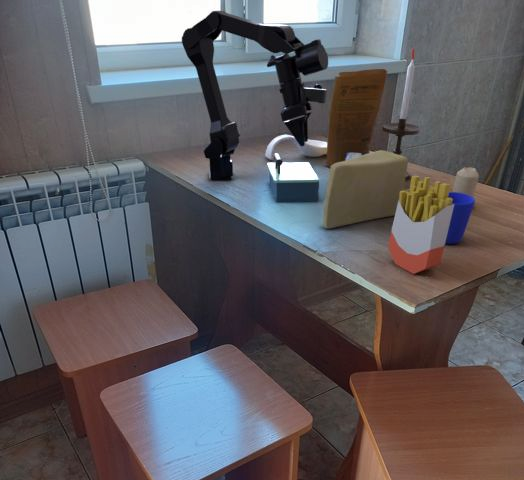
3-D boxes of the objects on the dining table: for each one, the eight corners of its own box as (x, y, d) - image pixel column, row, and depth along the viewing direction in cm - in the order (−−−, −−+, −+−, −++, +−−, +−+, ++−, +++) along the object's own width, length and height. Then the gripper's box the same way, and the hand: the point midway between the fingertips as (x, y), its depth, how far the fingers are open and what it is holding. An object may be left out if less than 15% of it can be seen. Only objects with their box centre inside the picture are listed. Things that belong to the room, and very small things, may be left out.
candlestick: (389, 183, 154) (411, 49, 134) (369, 173, 162) (386, 45, 142) (418, 179, 158) (443, 48, 137) (397, 169, 166) (418, 44, 145)
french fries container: (421, 279, 103) (441, 191, 93) (385, 259, 111) (399, 175, 100) (437, 274, 105) (458, 187, 95) (400, 254, 113) (416, 172, 102)
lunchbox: (276, 202, 139) (276, 183, 136) (269, 183, 152) (269, 165, 149) (317, 201, 140) (319, 182, 137) (307, 182, 153) (308, 164, 150)
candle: (460, 210, 136) (469, 172, 130) (445, 204, 140) (453, 166, 134) (475, 207, 138) (485, 169, 132) (460, 201, 142) (469, 164, 136)
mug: (407, 233, 123) (415, 192, 117) (456, 232, 124) (466, 191, 118) (418, 247, 116) (427, 204, 110) (470, 246, 117) (481, 203, 111)
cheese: (337, 235, 121) (344, 171, 112) (310, 222, 127) (315, 160, 119) (400, 216, 132) (411, 156, 123) (372, 205, 138) (380, 147, 130)
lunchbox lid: (274, 182, 136) (274, 164, 133) (267, 165, 149) (267, 148, 146) (319, 182, 137) (320, 164, 134) (308, 164, 150) (309, 148, 148)
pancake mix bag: (379, 165, 169) (393, 69, 153) (327, 170, 164) (335, 71, 148) (369, 160, 175) (382, 66, 158) (318, 164, 169) (326, 68, 153)
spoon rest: (320, 149, 185) (322, 128, 181) (337, 157, 177) (339, 135, 172) (261, 155, 177) (261, 133, 173) (275, 164, 168) (276, 141, 164)
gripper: (318, 71, 121) (332, 139, 128) (323, 71, 137) (335, 131, 144) (273, 85, 124) (289, 151, 131) (283, 83, 141) (297, 142, 147)
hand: (304, 143), depth 138 cm, fingers open, 9 cm apart
